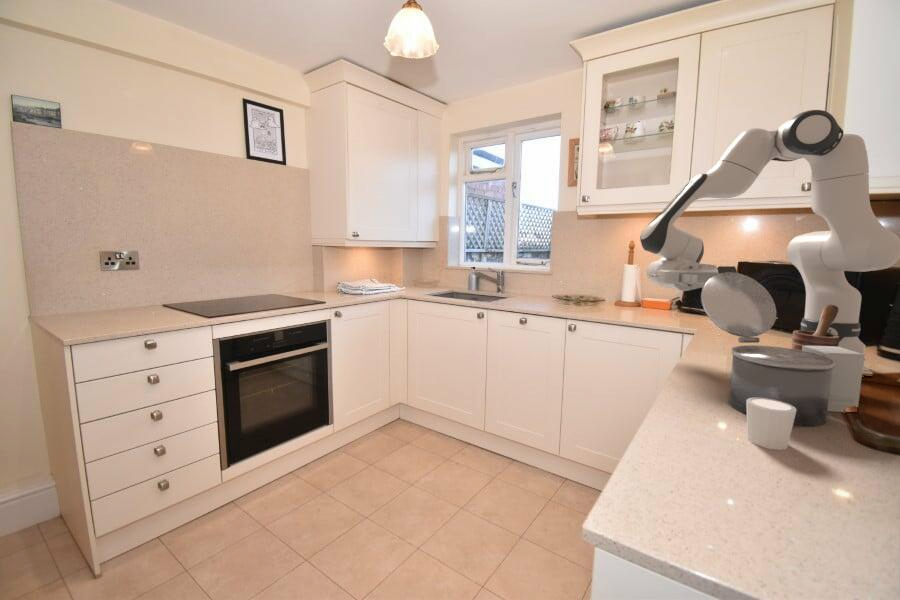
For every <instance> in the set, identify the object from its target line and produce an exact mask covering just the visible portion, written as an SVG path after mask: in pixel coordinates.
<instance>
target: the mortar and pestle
mask: <svg viewBox="0 0 900 600" xmlns="http://www.w3.org/2000/svg"><path fill="white" fill-rule="evenodd" d="M837 313H838V307H837V306H834V305H826V306H825V307H824V308H823V310H822V313H821V317H820V321H819V324H818V327H817V330H816V331H804V330H801V329H799V330H798V329H797V330H793V331H792V338H791V340H792V342H791V349H795V350H801V351H802V346H835V347H838V345H839V336H837V335H833V334H829V333H828V329H829V327H830V325H831V323H832V322H833V321H834V319H835V317H836V316H837Z"/></svg>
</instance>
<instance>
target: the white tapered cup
mask: <svg viewBox="0 0 900 600" xmlns="http://www.w3.org/2000/svg"><path fill="white" fill-rule="evenodd" d="M746 403H747V415H746V437H747V441H750V442H751V443H752V444H754V445H756V446H758V447H762V448H766V449H769V450H770V449H771V450H774V451H775V450H777V451H778V450H780V451H782V450H786V449H787V448H788V447H789V443H790V438H791V435H792V430H793V427H794V426H793V423H794V419H795V414H796V408H795V407H794V406H792V405H790V404H787V403H784V402H781V401H777V400H773V399H767V398H749V399H747V400H746Z"/></svg>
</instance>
